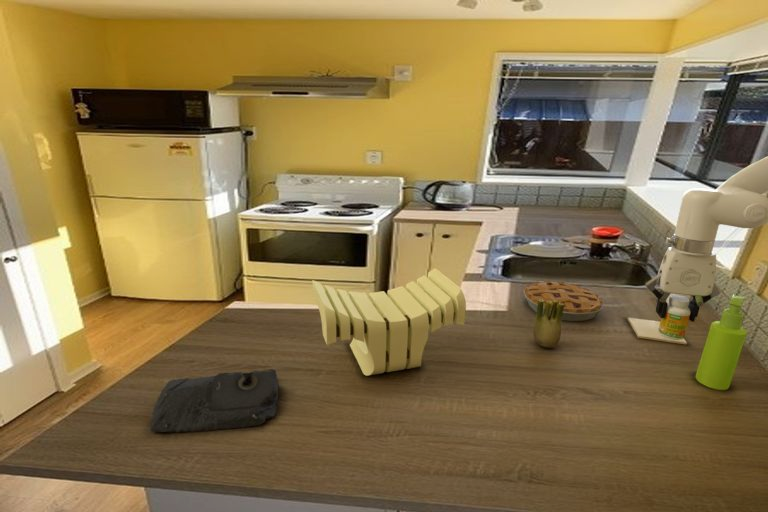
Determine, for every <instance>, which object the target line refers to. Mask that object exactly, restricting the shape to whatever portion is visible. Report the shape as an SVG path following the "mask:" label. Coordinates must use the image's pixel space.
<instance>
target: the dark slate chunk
mask: <svg viewBox="0 0 768 512" xmlns="http://www.w3.org/2000/svg"><path fill="white" fill-rule="evenodd" d="M277 377H278V376H277V371H276V370H275V369H273V368H271V369H266V370H254V371H251V372H242V371H238V372H237V371H235V372H219V373H217V375H211V376H199V377H196V378H195V377H194V378H188V377H187V378H176V379H172V380H169V381H168V382H166V384H165V385H164V387H163V388H162V390H161V392H160V394H159V396H158V398H157V399H156V402H155V405H154V406H153V412H152V417H151V418H150V421H149V422H150V423H149V425H150V431H151V432H154V433H155V432H159V433H170V434H171V433H177V434H178V433H181V432H182V433H187V432H190V433H194V432H208V431H218V430H225V429H227V430H230V429H236V428H238V429H239V428H249V427H255V426H260V425H263V424H264V423H265V422H266V420H267V419H271V418H272V419H273V418H275V416H276V413H277V410H278V408H277V406H276V403H277V401H278V399H279V398H278V397H279V396H278V395H279V394H278V392H279V382H278V381H279V380H278V378H277ZM248 383H250V385H247V384H248Z"/></svg>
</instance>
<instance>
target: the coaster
mask: <svg viewBox="0 0 768 512" xmlns="http://www.w3.org/2000/svg"><path fill="white" fill-rule="evenodd" d="M627 321H628V323H629V324H630V327H631V328H632V330H633V332H634V333H635V335H636V336H637V338H638V339H644V340H652V341H659V342H666V343H673V344H679V345H680V344H681V345H688V341H686V339H685V337H684V338H683V339H681V340H673V339H669V338H666V337H664V336H662V335H660V334H659V332H658V329H659V325H660V321H658V320H650V319H643V318H635V317H627Z"/></svg>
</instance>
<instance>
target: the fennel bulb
mask: <svg viewBox="0 0 768 512" xmlns="http://www.w3.org/2000/svg"><path fill="white" fill-rule="evenodd" d="M551 304H552V301H546V305H545V310H544V314H543V300H538V307H537V312H536V315H535V319H534V323H533V338H534V341H535V343H536V344H538V345H539V346H540V347H541V348H544V349H554V348H555V347H556V346H557V345H558V344H559V343H560V341H561V338H562V337H561V336H562V320H561V317H562V313H563V309H564V306H565V305H564V304H563V303H560V302H559V304H558V301H556V300H553V305H552V310H551V314H550V316H549V313H550V309H551ZM557 304H558V307H557Z"/></svg>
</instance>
